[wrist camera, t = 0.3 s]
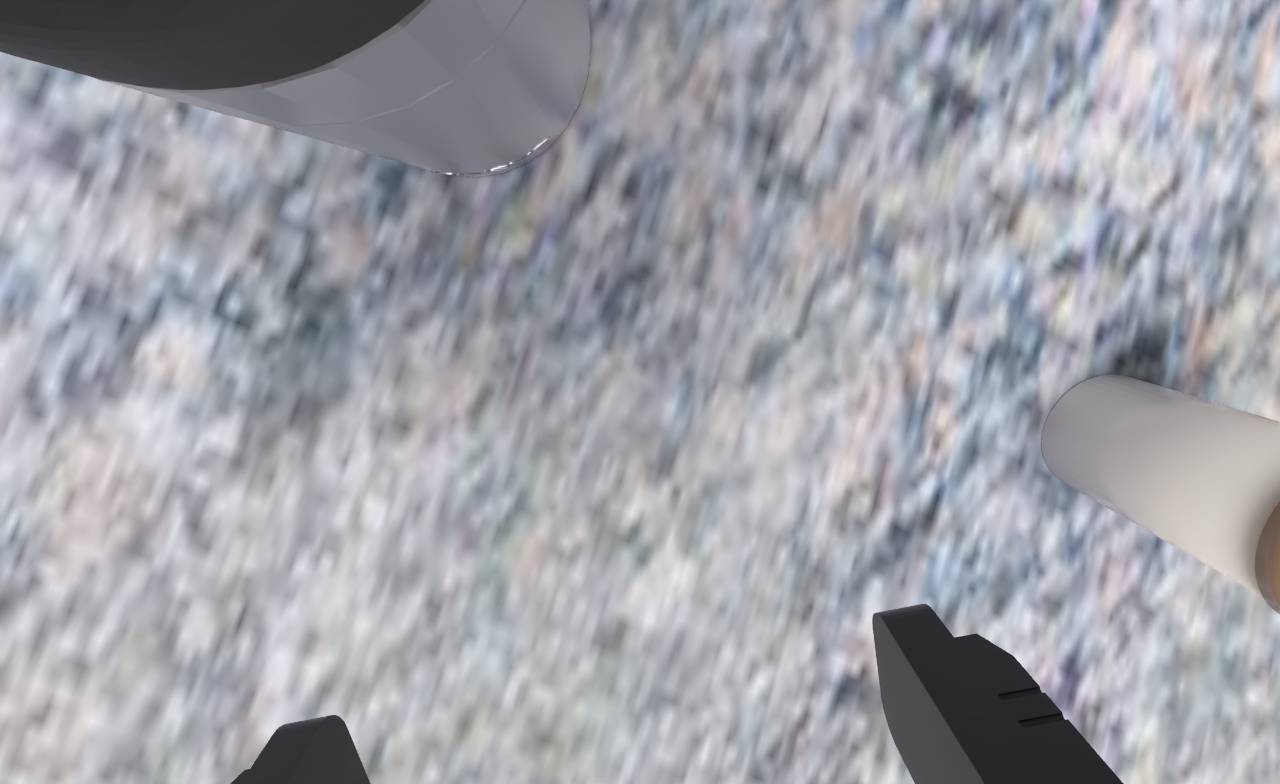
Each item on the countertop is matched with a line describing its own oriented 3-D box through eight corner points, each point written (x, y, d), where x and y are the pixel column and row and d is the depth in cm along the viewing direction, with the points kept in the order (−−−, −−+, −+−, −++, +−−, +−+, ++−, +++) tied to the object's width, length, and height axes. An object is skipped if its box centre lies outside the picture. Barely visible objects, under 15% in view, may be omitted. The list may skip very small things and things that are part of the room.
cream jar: (1030, 390, 28) (1289, 494, 18) (1160, 354, 28) (1499, 437, 17) (1043, 506, 30) (1288, 667, 19) (1166, 473, 30) (1481, 615, 19)
